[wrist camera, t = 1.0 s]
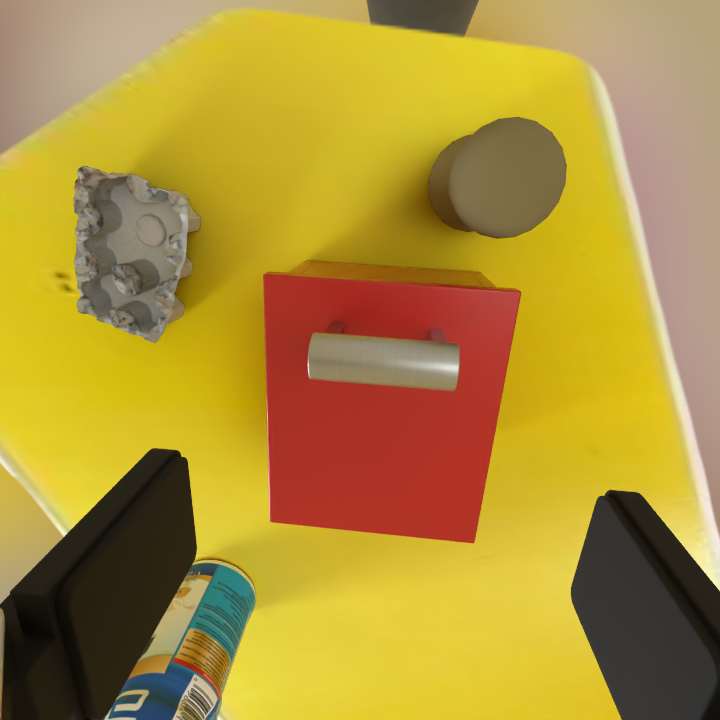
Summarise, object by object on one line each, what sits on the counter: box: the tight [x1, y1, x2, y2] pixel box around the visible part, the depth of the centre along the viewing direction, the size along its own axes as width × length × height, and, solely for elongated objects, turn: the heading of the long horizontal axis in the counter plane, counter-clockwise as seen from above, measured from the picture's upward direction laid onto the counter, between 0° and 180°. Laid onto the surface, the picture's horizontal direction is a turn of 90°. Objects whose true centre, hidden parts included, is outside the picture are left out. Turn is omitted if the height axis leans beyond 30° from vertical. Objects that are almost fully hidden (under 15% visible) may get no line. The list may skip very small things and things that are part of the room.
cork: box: [429, 117, 567, 238], centre depth 24 cm, size 6×6×11 cm
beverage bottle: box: [102, 560, 256, 720], centre depth 35 cm, size 8×8×20 cm
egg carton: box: [74, 166, 201, 343], centre depth 31 cm, size 11×8×4 cm
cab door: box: [263, 272, 521, 543], centre depth 22 cm, size 15×13×6 cm
